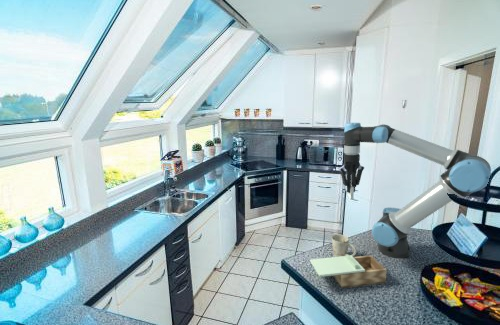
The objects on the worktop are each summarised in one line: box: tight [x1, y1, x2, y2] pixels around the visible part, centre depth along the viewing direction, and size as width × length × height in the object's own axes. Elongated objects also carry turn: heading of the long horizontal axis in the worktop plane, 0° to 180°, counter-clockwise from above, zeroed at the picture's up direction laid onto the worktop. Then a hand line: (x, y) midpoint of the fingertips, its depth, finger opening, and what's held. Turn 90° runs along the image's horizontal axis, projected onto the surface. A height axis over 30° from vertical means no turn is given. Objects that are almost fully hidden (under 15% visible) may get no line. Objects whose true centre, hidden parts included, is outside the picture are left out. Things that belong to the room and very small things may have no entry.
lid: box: [309, 253, 365, 278], centre depth 117 cm, size 20×12×2 cm, turn 96°
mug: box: [331, 234, 357, 257], centre depth 135 cm, size 8×13×10 cm, turn 51°
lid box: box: [332, 254, 387, 289], centre depth 119 cm, size 20×12×6 cm, turn 96°
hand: (350, 198), depth 137 cm, fingers closed
